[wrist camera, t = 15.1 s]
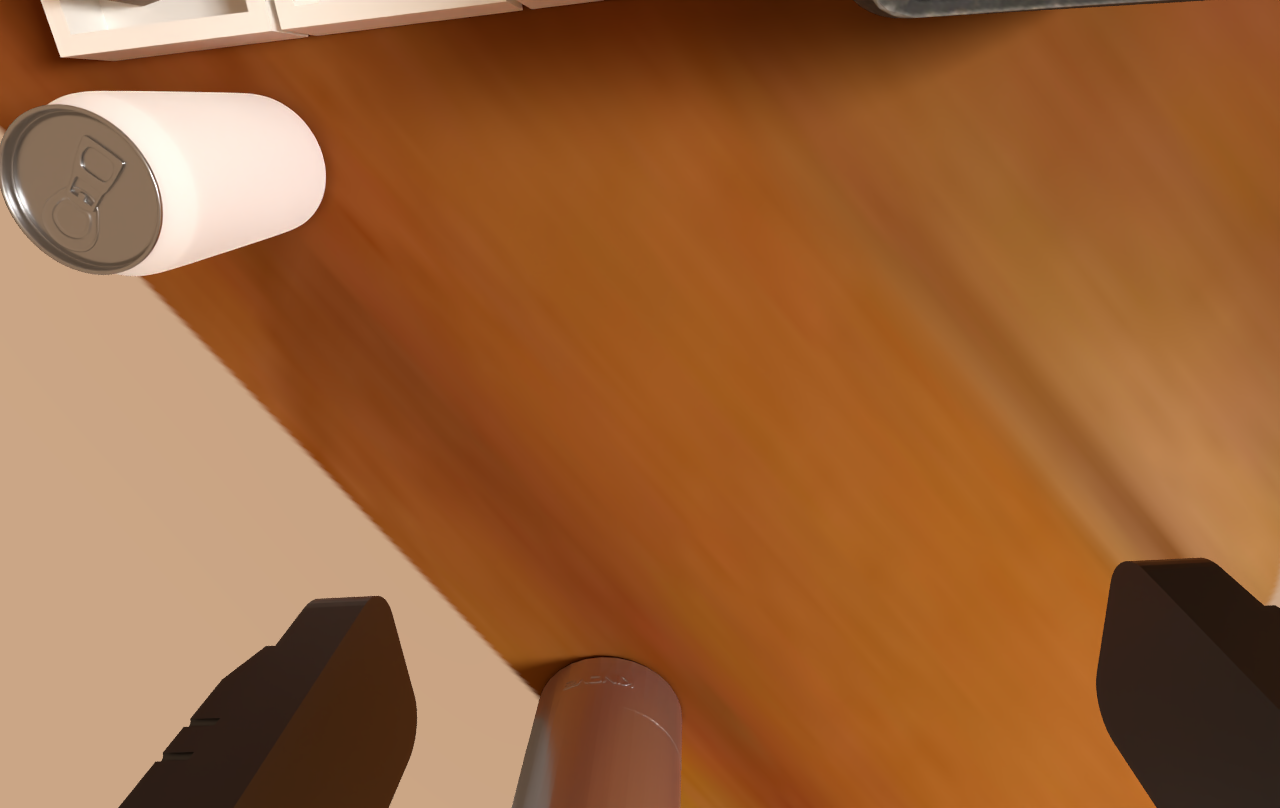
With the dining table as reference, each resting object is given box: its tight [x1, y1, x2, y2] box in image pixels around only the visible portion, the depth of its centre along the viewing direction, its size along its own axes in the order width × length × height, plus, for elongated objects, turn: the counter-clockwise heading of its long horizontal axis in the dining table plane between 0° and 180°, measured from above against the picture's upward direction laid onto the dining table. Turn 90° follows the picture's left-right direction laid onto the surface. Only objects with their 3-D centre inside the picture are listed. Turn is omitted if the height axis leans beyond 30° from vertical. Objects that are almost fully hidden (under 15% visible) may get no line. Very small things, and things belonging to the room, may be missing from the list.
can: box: [0, 91, 326, 276], centre depth 31 cm, size 6×6×12 cm
